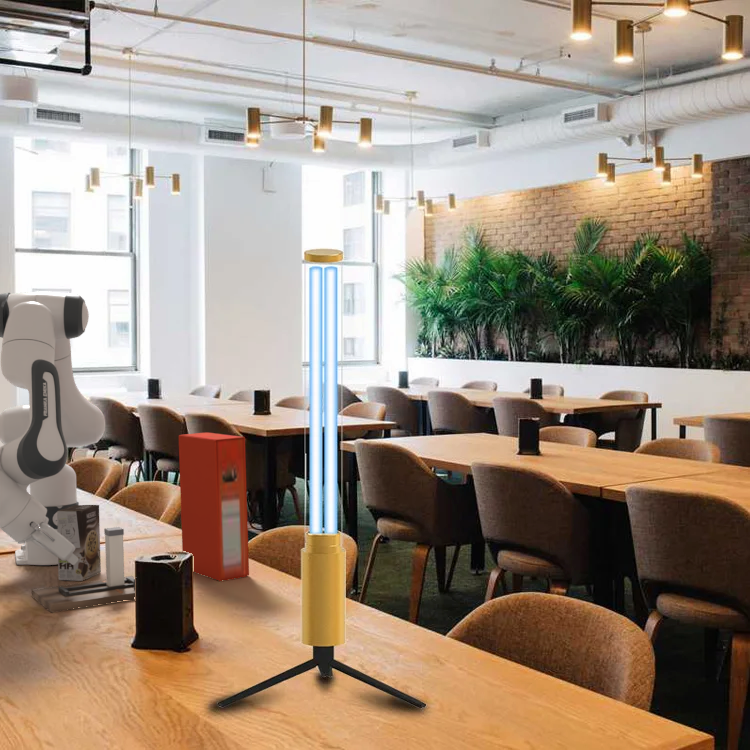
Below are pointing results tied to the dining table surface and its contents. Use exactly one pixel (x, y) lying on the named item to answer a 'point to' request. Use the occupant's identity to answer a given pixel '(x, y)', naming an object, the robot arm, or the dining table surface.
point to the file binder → (214, 504)
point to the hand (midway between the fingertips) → (74, 561)
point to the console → (84, 594)
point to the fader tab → (114, 556)
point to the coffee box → (80, 541)
